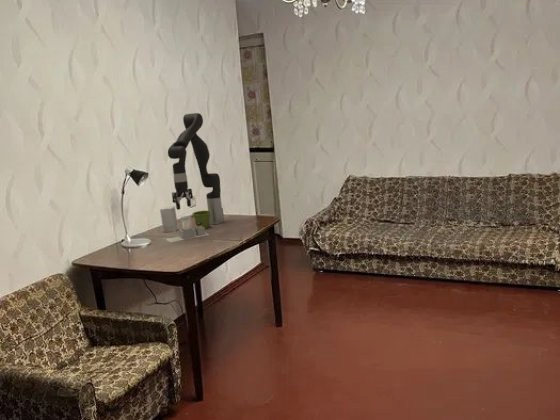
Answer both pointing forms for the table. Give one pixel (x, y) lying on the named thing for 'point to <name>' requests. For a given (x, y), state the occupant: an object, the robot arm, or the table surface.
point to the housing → (189, 234)
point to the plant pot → (202, 217)
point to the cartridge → (185, 223)
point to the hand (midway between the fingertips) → (184, 207)
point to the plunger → (199, 225)
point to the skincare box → (169, 219)
